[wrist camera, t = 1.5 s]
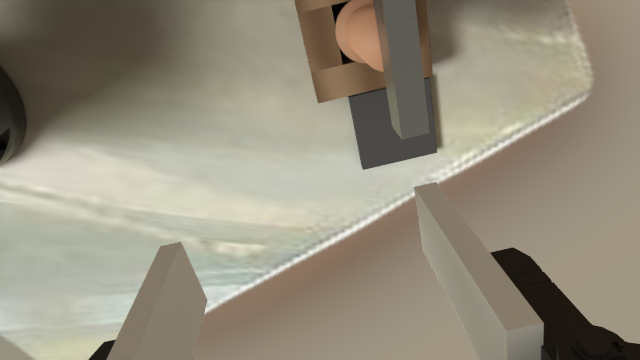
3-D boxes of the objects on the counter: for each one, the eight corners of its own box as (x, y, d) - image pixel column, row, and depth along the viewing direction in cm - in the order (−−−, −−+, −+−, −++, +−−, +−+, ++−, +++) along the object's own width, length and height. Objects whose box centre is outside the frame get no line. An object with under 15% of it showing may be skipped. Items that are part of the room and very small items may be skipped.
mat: (361, 166, 50) (363, 169, 49) (348, 95, 46) (349, 97, 45) (434, 149, 50) (436, 152, 49) (426, 76, 46) (429, 78, 45)
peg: (336, 60, 45) (357, 90, 32) (324, 2, 42) (342, 9, 29) (390, 47, 45) (432, 72, 32) (382, -13, 42) (424, -11, 29)
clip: (382, 128, 32) (391, 142, 29) (342, -112, 25) (349, -124, 22) (427, 118, 32) (440, 130, 29) (400, -127, 25) (414, -141, 22)
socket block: (315, 94, 46) (328, 140, 32) (277, -75, 39) (273, -108, 25) (421, 68, 46) (479, 104, 32) (401, -106, 39) (466, -157, 25)
